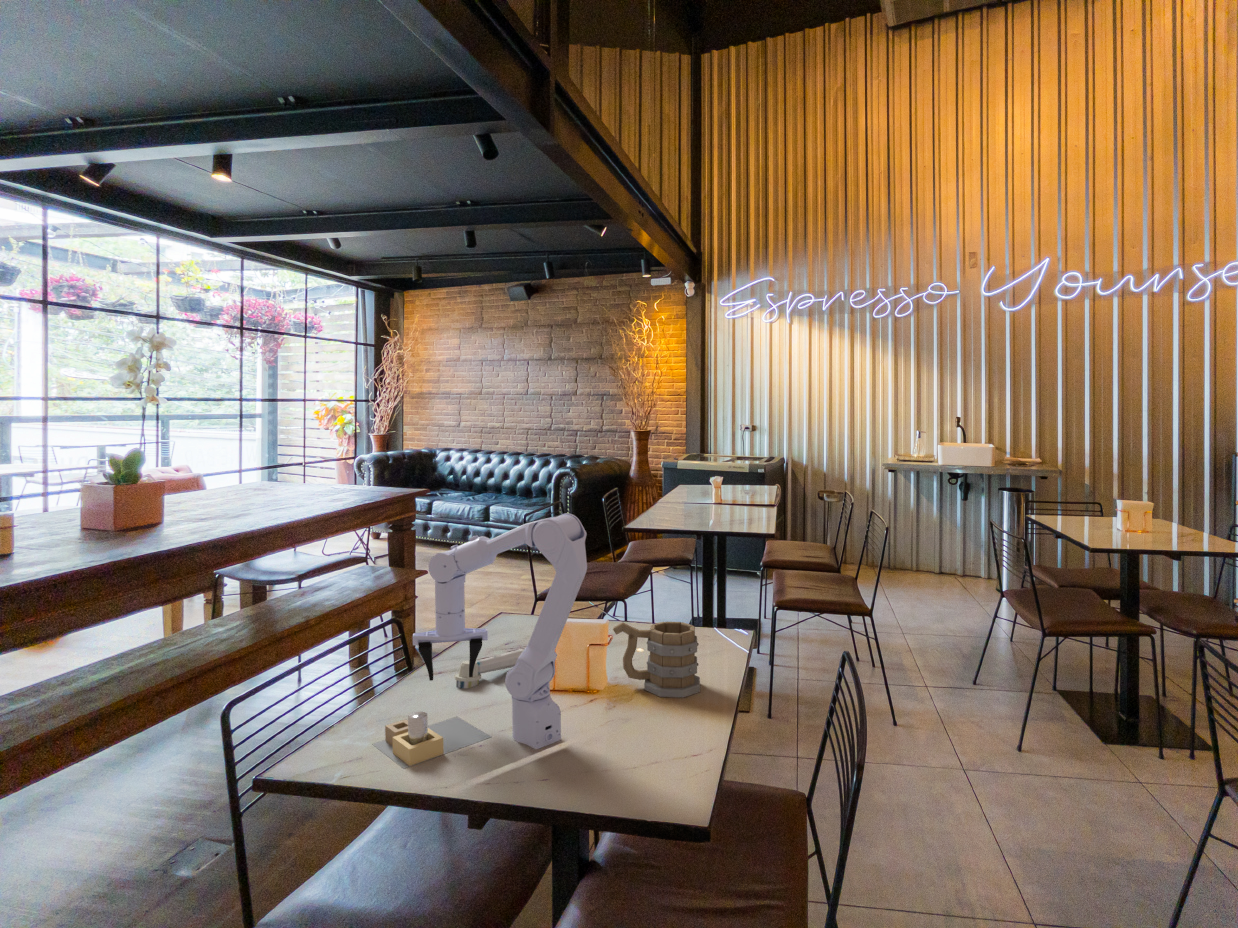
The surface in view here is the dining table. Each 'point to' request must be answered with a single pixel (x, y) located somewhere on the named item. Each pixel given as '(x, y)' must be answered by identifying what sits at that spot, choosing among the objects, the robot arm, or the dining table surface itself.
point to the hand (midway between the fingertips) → (451, 677)
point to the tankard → (665, 658)
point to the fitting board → (428, 741)
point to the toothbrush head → (485, 667)
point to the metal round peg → (417, 728)
